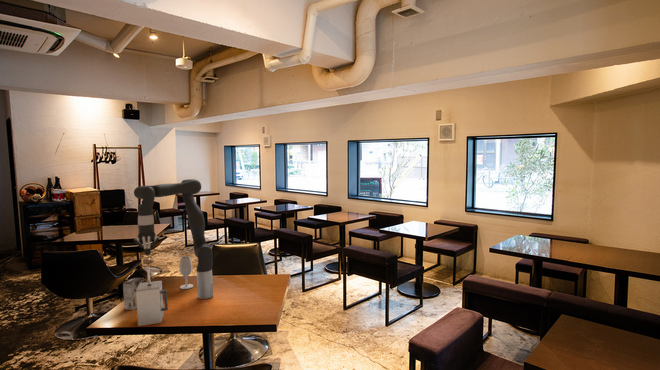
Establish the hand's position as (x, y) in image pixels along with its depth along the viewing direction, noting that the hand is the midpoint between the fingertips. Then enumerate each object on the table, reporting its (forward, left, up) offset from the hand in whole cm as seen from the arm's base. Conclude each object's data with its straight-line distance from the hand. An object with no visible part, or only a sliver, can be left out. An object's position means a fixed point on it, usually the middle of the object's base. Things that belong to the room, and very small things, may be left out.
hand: (147, 255), depth 190 cm
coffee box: (+12, -24, -36) cm, 45 cm away
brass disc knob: (0, 0, -22) cm, 22 cm away
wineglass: (-16, -46, -36) cm, 61 cm away
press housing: (-1, 0, -36) cm, 36 cm away
